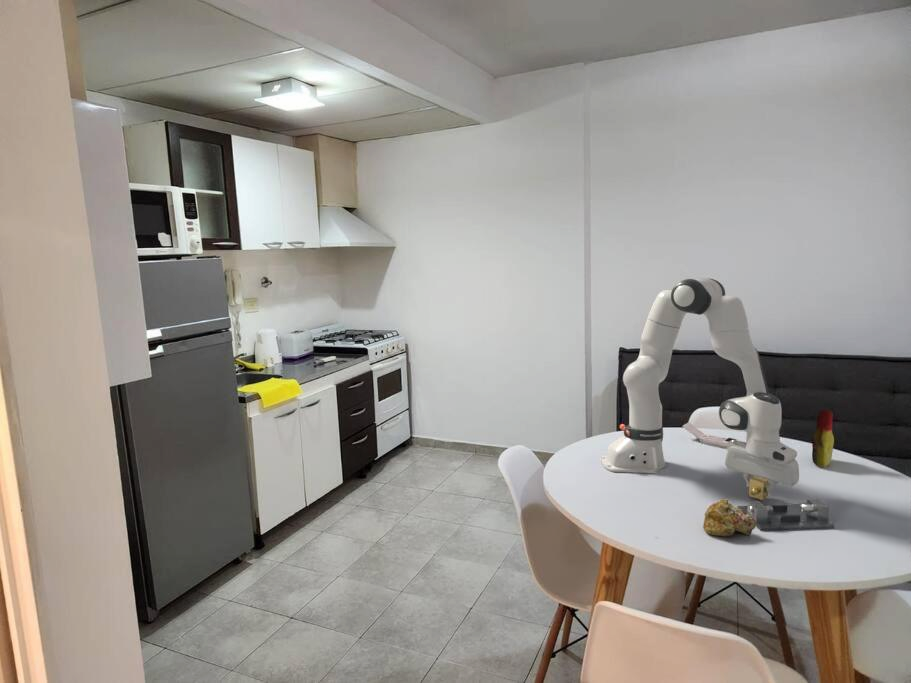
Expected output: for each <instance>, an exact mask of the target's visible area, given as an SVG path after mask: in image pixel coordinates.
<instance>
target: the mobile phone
mask: <svg viewBox="0 0 911 683" xmlns="http://www.w3.org/2000/svg"><path fill="white" fill-rule="evenodd" d="M681 427H682V428H684V429H685V430H686V431H687V432H689V433H690V434H691V435H693V436H694V437H696V438H697V439H698V440H699V442H700V444H702V445H707V446H712V447H716V448H720V449H724V448H725V449H724V450H727V443H728V442H729V441H732V440H737V441H740V442H744V441H743V440H739V439H737V438H733V437H721V436H716V435H713V434H712V435H710V434H707V433H706V434H705V433H704V432H702V431H701V430H699V429H698V428H697V427H695V426H694V424H692V423H690V422H687V423H685V424H683V425H682V426H681Z"/></svg>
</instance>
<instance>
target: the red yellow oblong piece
mask: <svg viewBox="0 0 911 683" xmlns="http://www.w3.org/2000/svg"><path fill="white" fill-rule="evenodd" d="M833 417H834V413H833V412H832V411H831V410H830V409H828V408H821V409H820V410H819V411H818V416H817V419H816V420H817V421H816V431H814V434H813V436H812V443H811V444H812V446H811V448H812V453H811V459H812V463H813V464H814V465H815V466H816V467H818V468H825V467H827V466H829V465H830V463H831V461H832V457H833V451H834V445H835V438H834V437H835V436H834V434H833Z"/></svg>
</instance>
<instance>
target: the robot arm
mask: <svg viewBox="0 0 911 683" xmlns="http://www.w3.org/2000/svg"><path fill="white" fill-rule="evenodd" d="M687 313H688V314H695V315H700V316H701V315H704V316H705V317H706V319H707V321H708V328H709V339H710V344H711V348H712V350H713V351H714V352H715V353H716V354H717V355H718V356H719V357H721V358H722V359H725V360H727V361H731V362H732V363H734V364H736V365H737V366H738V367H739V368H740V370H741V372H742V375H743V380H744V384H745V389H746V396H741V397H733V398H729V399H726V400H725V401H724V400H723V402H722V403H721V404H720V406H719V408H718V416H719V420H720V422H721V423H722V425H723V426H725V427H726V428H728V429H730V430H735V431H744V432H746V438H745V441H743V442H740V441H741V440H740V441H737V440H738V439H737V440H732V441H729V442H728V443H727V449H726V450H727V452H726V457H725V462H724V464H725V466H726V468H727V469H729V470H733V471H737V472H739V473H743V474H742V475H743V476H742V477H743V479H744V480H745V482H746V483H745V484H746V485H745V487H746V488H749V487H750V479H751V477H750V476H753V477H754V476H757V477H760V478H764V479H767V480H769V486H767V487H765V493H768V495H772V493H773V488H774V487H775V486H776V485H777V484H781V485H786V486H789V487H793V486H795V485H797V484H798V483H799V481H800V480H799V479H800V467H799V466H800V465H799V463H798V461H797V459H796V458H797V456H798V452H797V450H795V449H793V448H791V447H790V446H789V445H786V444H784V443H783V442H781V437H780V430H781V427H782V419H783V418H782V404H781V401H780V399H779V398H778V397H777V396H775V395H773V394H771V393H770V390H769V386H768V383H767V378H766V375H765V372H764V371H765V370H764V367H763V362H762V360H761V357H760V354H759V351H758V349H757V348H756V347H755V346H754V343H753V341H752V339H751V336H750V330H749V323H748V322H749V321H748V318H747V313H746V310H745V307H744V304H743V302H742V299H740V298H739V297H737V296H734V295H727V294H726V289H725V287H724V285H723V284H722V283H721V282H719V280H716V279H715V278H714V279H713V278H706V277H695V278H686V279H683V280H681V281H679V282H678V283H676V284H675V285H674V287H673V288H672V289H666V290H665V289H664V290H661V291H660V292H659V293H658V294H657V295H656V297H655V299H654V301H653V304H652V306H651V308H650V310H649V313H648V316H647V318H646V321H645V325H644V327H643V330H642V334H641V336H640V347H639V348H640V350H639V354H638V357H637V359H636V360H635V361H633V362H631V363H630V364H628V366H627V367H626V369H625V370H624V372H623V376H622V382H623V385H624V387H625V388H626V392H627V393H626V394H627V398H628V405H629V411H628V412H629V413H628V414H629V416H628V418H629V421H628V422H629V423H628V425H626V424H623V423H621V424H620V425H619V429H620V430H621V431H623V435H621V436H620V437H618V438H617V439H616V440H614V441H612V442H611V443H610V444H609V445H608V447H607V452H606V454H605V455H604V454H603V455H602V456H601V457H600V463H601V465H602V466H603V467H604V468H605V469H606V470H608V471H610V472H613V473H614V472H615V473H635V474H637V473H641V474H656V473H657V472H659V471H660V470H662V469H664V468H665V467H666V466H667V464H666V461H665V456H664V451H663V440H664V428H663V404H662V403H661V399H660V394H659V393H660V392H659V386H660V383H662V382H664V381H665V379H666V377H667V376H668V373H669V368H670V364H671V360H672V354H673V349H674V347H675V346H674V345H675V343H676V340H677V338H678V336H679V332H680V328H681V326H682V323H683V321H684V318H685V315H686V314H687Z"/></svg>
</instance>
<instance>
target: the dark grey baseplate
mask: <svg viewBox="0 0 911 683" xmlns="http://www.w3.org/2000/svg"><path fill="white" fill-rule="evenodd" d="M736 508H738V509H741V510H743V511H744V512H745V513H746V514H747V515H749V516H751V517H753V518H754V519H755V520H756V521H757V524H756V527H755V528H757V529H758V530H759V531H760V532H761V531H786V530H788V531H789V530H790V531H791V530H816V529H834V528H835V524H834V523H832V522H831V521H830V520H829V517H830V516H829V514H830V506H829V505H827V504H826V503H824V502H823V501H821V500H820V499H819V498H807V499H806V503H787V504H786V503H784V504H779V503H778V504H762V502H760V501H759V500H754V501H753V500H751V501H749V500H748V501H747V505H737V507H736Z"/></svg>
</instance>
